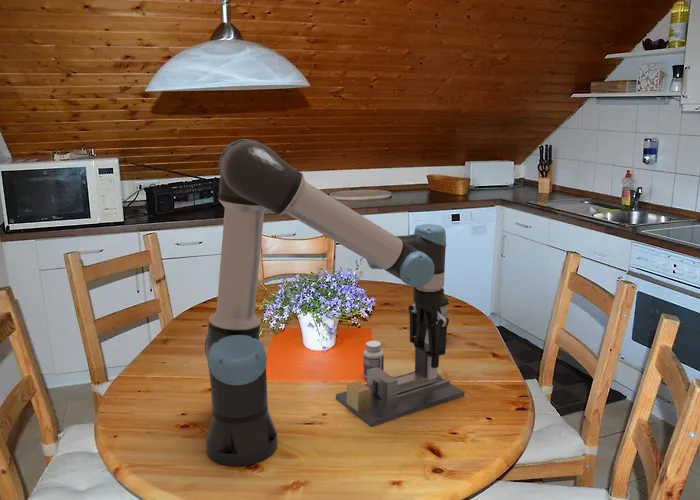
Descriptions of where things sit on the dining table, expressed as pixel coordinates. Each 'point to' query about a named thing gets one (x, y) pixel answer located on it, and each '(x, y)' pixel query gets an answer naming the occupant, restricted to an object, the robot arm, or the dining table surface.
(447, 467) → the dining table surface
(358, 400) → the block
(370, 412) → the slotted base plate
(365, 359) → the pill bottle
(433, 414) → the dining table surface
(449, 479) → the dining table surface
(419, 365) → the sliding bolt with handle
